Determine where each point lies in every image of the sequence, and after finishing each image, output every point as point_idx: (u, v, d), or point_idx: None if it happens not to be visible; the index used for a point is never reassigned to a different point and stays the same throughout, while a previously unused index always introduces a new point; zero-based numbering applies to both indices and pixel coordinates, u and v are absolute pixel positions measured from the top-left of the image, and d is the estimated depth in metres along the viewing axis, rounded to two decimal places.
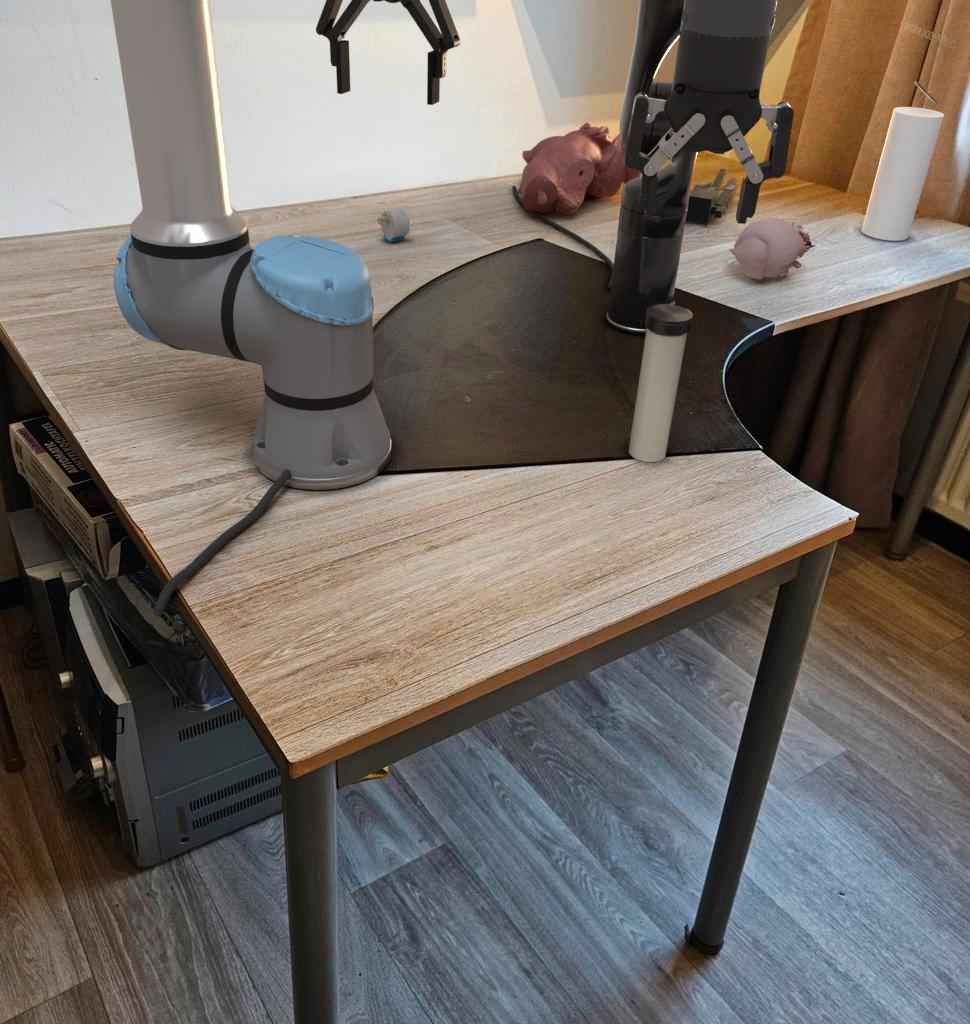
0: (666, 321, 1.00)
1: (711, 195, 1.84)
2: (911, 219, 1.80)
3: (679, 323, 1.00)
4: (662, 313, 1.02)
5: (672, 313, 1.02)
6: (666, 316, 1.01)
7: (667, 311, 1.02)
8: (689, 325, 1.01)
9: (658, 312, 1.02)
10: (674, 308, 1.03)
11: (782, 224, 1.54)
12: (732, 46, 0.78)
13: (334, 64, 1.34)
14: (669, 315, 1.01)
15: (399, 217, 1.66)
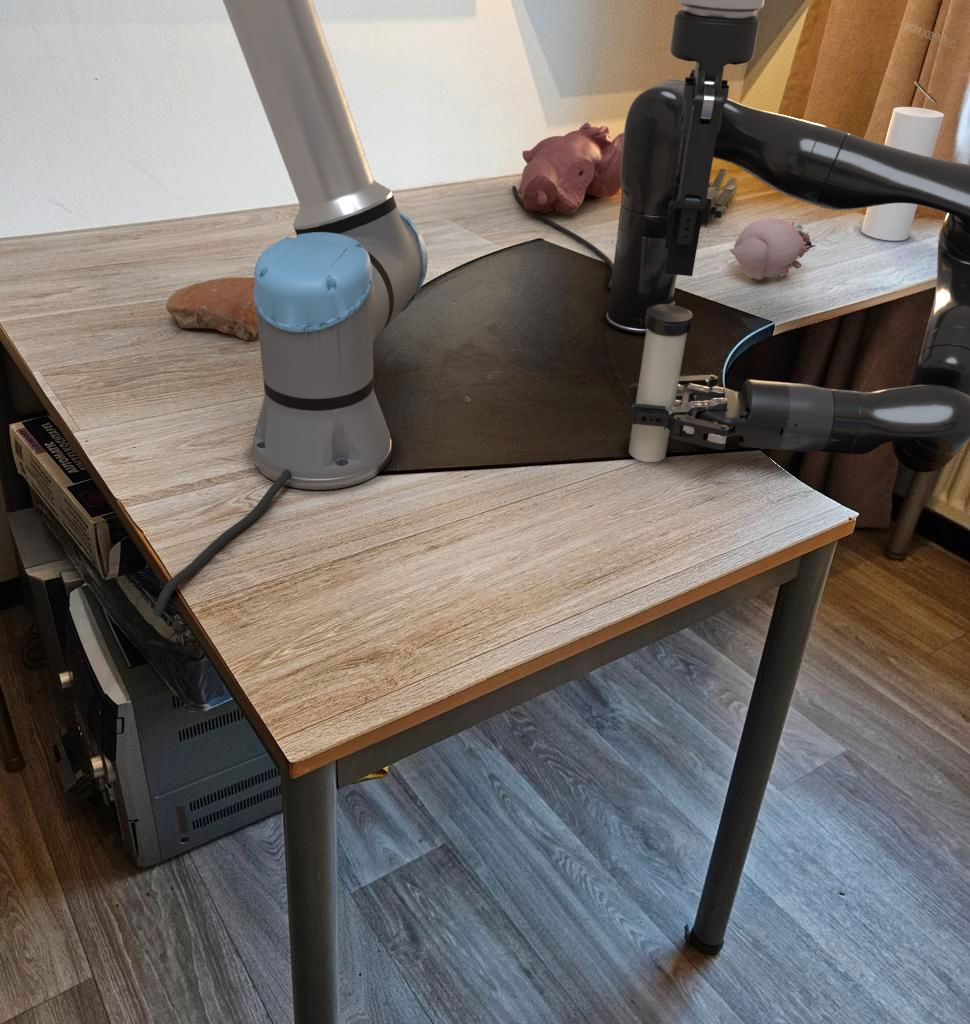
0: (666, 321, 1.00)
1: (711, 195, 1.84)
2: (911, 219, 1.80)
3: (679, 323, 1.00)
4: (662, 313, 1.02)
5: (672, 313, 1.02)
6: (666, 316, 1.01)
7: (667, 311, 1.02)
8: (689, 325, 1.01)
9: (658, 312, 1.02)
10: (674, 308, 1.03)
11: (782, 224, 1.54)
12: None
13: (691, 241, 0.93)
14: (669, 315, 1.01)
15: None
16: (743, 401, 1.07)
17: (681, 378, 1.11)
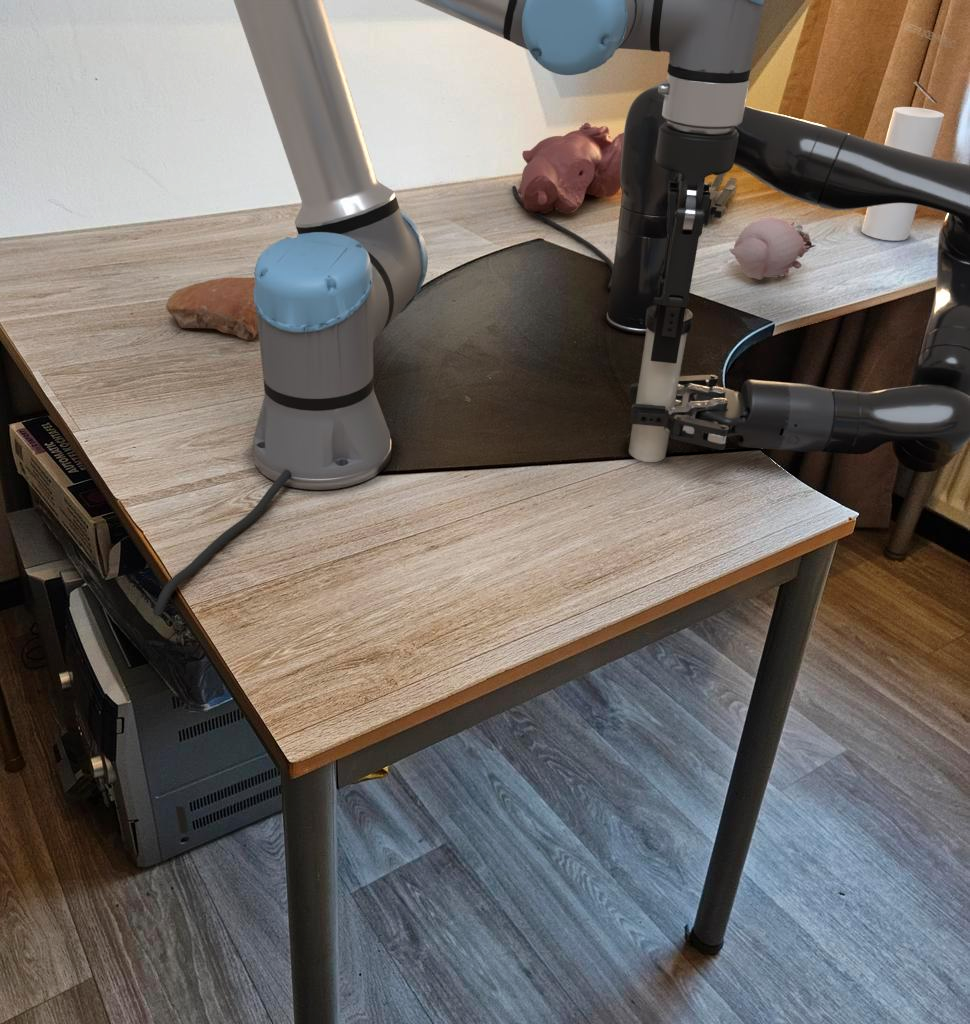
0: None
1: (711, 195, 1.84)
2: (911, 219, 1.80)
3: None
4: None
5: None
6: None
7: None
8: (689, 325, 1.01)
9: None
10: None
11: (782, 224, 1.54)
12: None
13: (675, 333, 0.99)
14: None
15: None
16: (743, 401, 1.07)
17: (681, 378, 1.11)
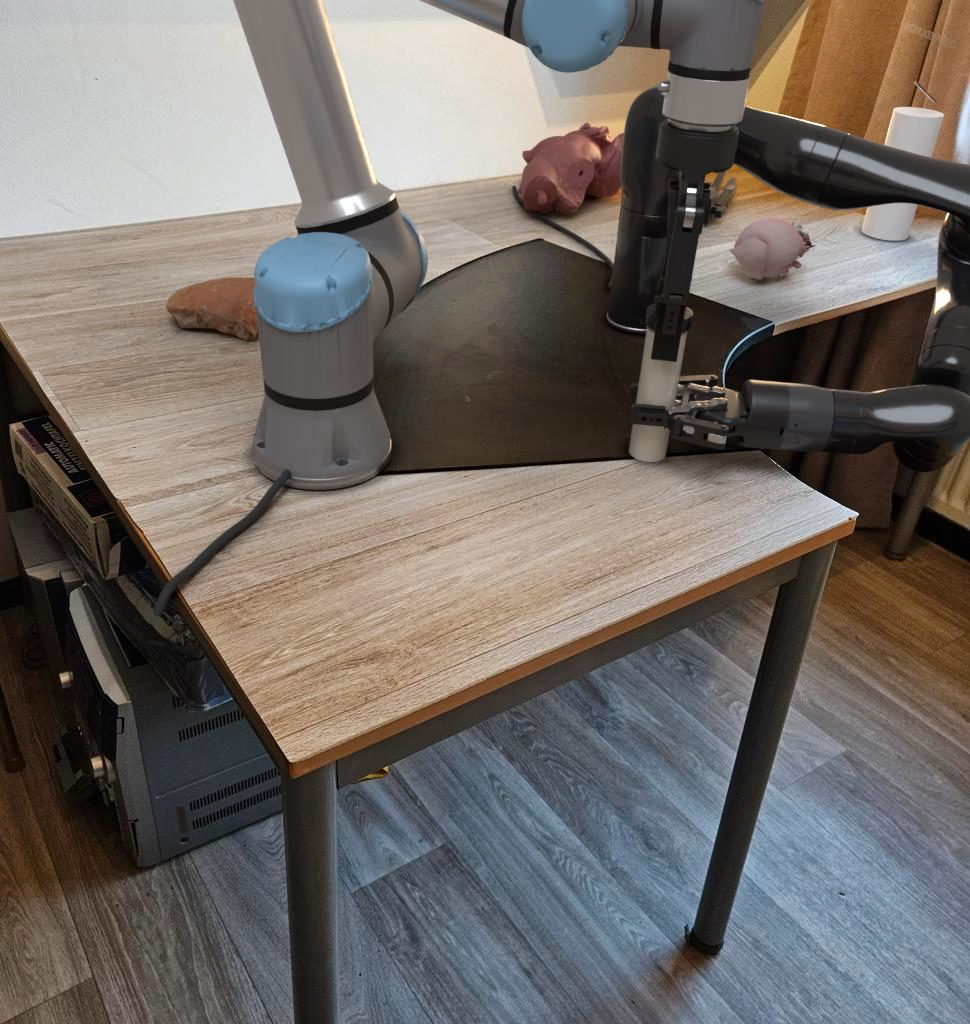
0: (689, 309, 1.03)
1: (711, 195, 1.84)
2: (911, 219, 1.80)
3: None
4: None
5: None
6: None
7: None
8: None
9: None
10: (657, 311, 1.02)
11: (782, 224, 1.54)
12: None
13: (675, 331, 0.99)
14: None
15: None
16: (743, 401, 1.07)
17: (681, 378, 1.11)
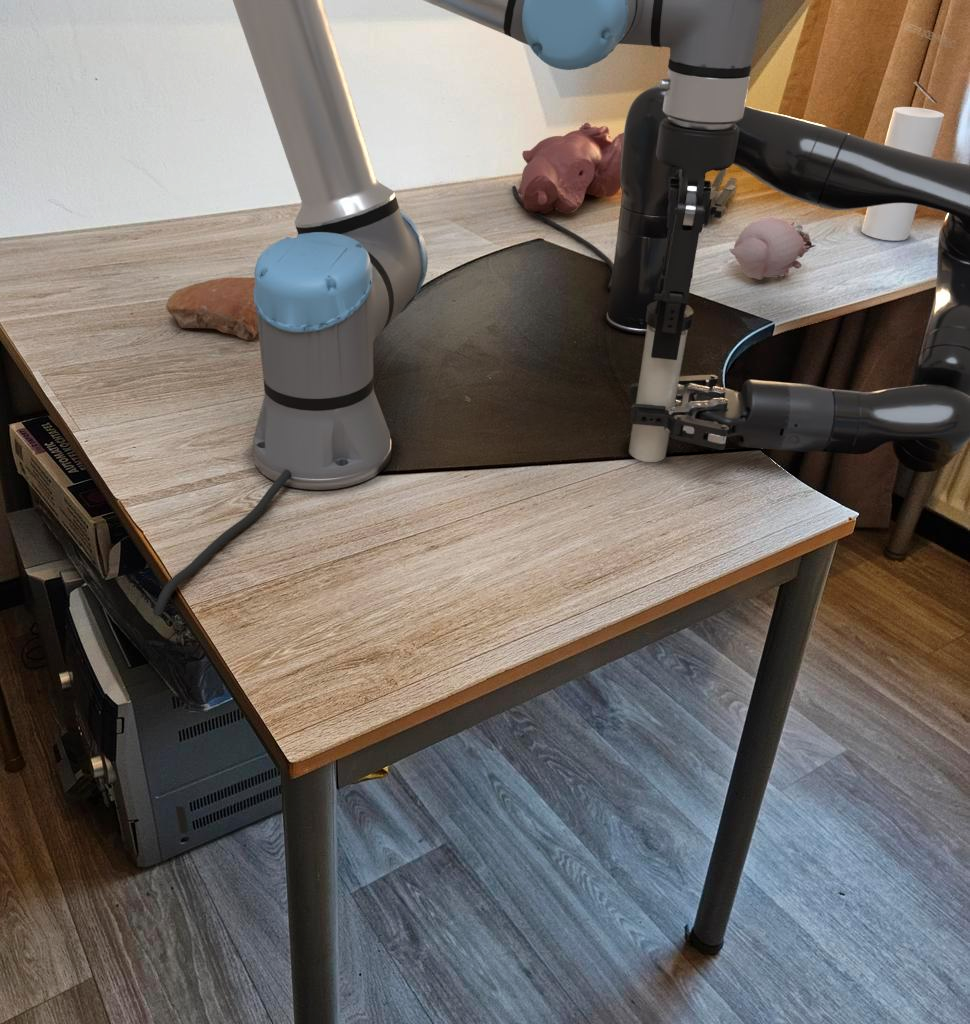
0: (649, 304, 1.03)
1: (711, 195, 1.84)
2: (911, 219, 1.80)
3: (647, 310, 1.02)
4: None
5: None
6: None
7: None
8: (655, 321, 1.01)
9: None
10: None
11: (782, 224, 1.54)
12: None
13: (676, 329, 0.99)
14: None
15: None
16: (743, 401, 1.07)
17: (681, 378, 1.11)
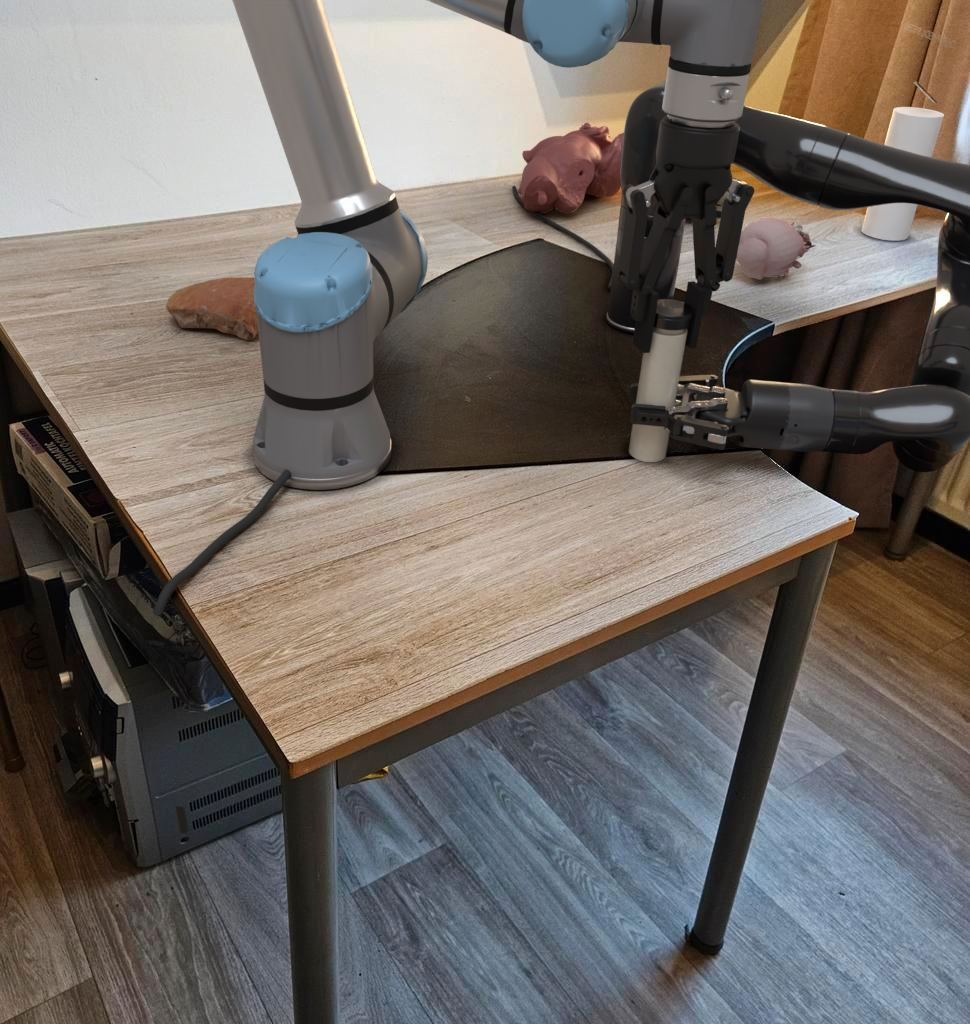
0: (672, 316, 1.00)
1: None
2: (911, 219, 1.80)
3: (684, 317, 1.00)
4: (664, 309, 1.01)
5: (673, 308, 1.02)
6: (669, 311, 1.01)
7: (667, 306, 1.02)
8: (691, 318, 1.02)
9: (659, 308, 1.01)
10: (672, 302, 1.03)
11: (782, 224, 1.54)
12: None
13: None
14: (671, 310, 1.01)
15: None
16: (743, 401, 1.07)
17: (681, 378, 1.11)
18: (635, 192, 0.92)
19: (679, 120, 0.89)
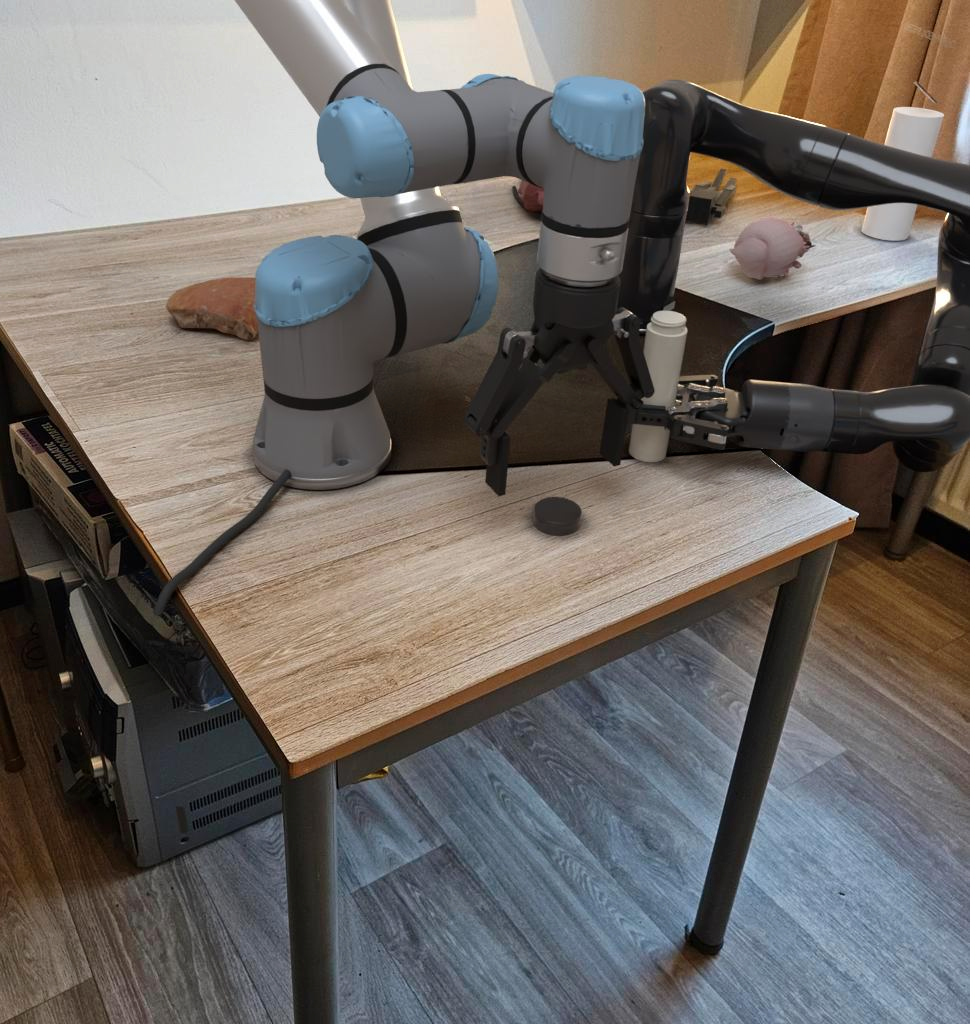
0: (562, 523, 0.96)
1: (711, 195, 1.84)
2: (911, 219, 1.80)
3: (574, 522, 0.97)
4: (552, 512, 0.98)
5: (561, 510, 0.98)
6: (558, 516, 0.97)
7: (554, 508, 0.98)
8: (580, 519, 0.98)
9: (547, 512, 0.98)
10: (558, 501, 0.99)
11: (782, 224, 1.54)
12: None
13: None
14: (560, 513, 0.98)
15: None
16: (743, 401, 1.07)
17: (681, 378, 1.11)
18: (518, 338, 0.84)
19: (558, 279, 0.82)
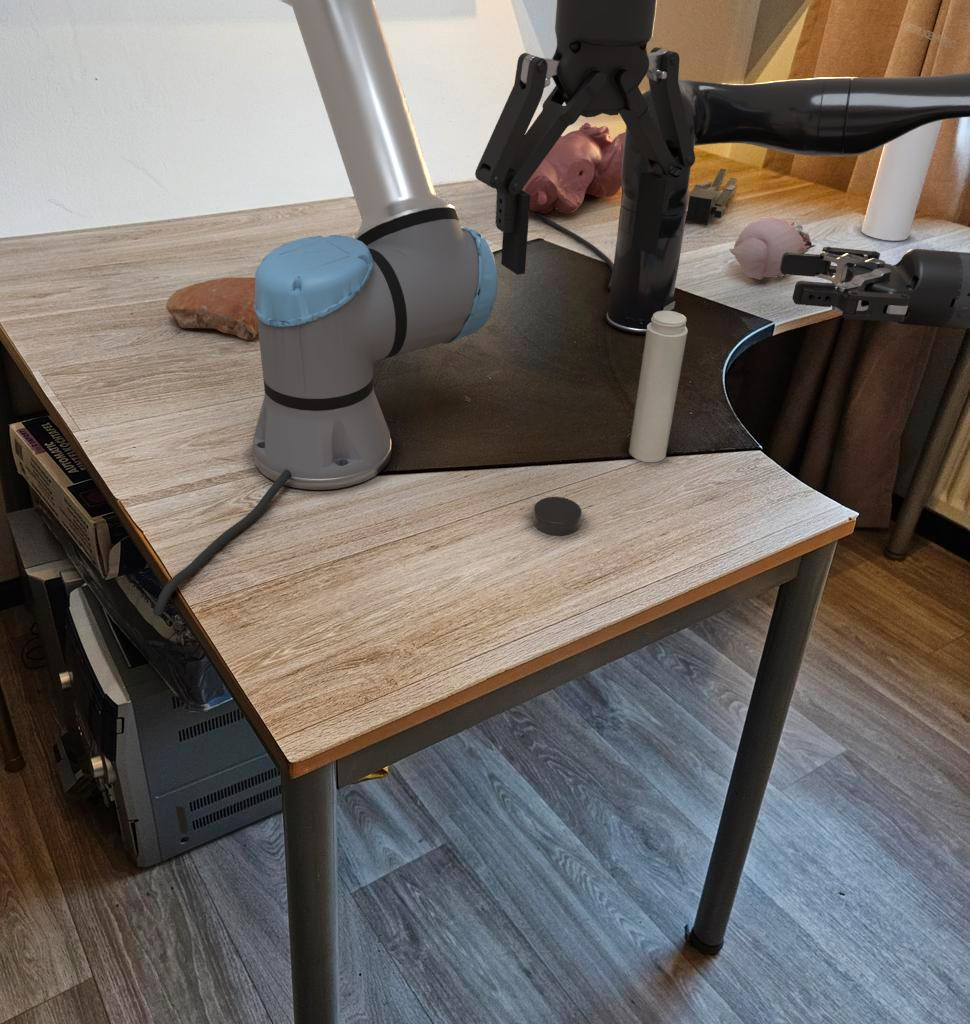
0: (562, 523, 0.96)
1: (711, 195, 1.84)
2: (911, 219, 1.80)
3: (574, 522, 0.97)
4: (552, 512, 0.98)
5: (561, 510, 0.98)
6: (558, 516, 0.97)
7: (554, 508, 0.98)
8: (580, 519, 0.98)
9: (547, 512, 0.98)
10: (558, 501, 0.99)
11: (782, 224, 1.54)
12: None
13: None
14: (560, 513, 0.98)
15: None
16: (906, 272, 0.97)
17: (836, 249, 1.03)
18: (539, 58, 0.71)
19: None
